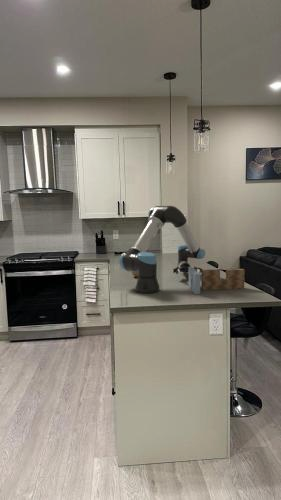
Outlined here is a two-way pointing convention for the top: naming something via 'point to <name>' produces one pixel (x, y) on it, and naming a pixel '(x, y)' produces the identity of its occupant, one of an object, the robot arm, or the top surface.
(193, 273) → the slate plate
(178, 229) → the robot arm
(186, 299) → the top surface
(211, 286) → the brown wooden panel
